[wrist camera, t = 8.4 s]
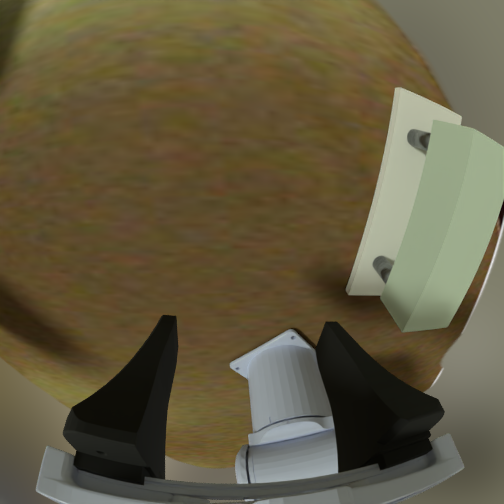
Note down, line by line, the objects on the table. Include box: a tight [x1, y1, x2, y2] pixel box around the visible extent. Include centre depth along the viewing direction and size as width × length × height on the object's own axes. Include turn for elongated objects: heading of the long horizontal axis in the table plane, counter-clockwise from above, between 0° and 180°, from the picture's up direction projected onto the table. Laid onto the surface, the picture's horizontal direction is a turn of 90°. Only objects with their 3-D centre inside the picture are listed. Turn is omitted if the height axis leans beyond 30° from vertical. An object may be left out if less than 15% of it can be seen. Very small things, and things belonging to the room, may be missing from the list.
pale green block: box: [380, 120, 504, 332], centre depth 16 cm, size 14×5×4 cm, turn 173°
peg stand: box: [346, 88, 462, 295], centre depth 19 cm, size 18×7×4 cm, turn 173°
